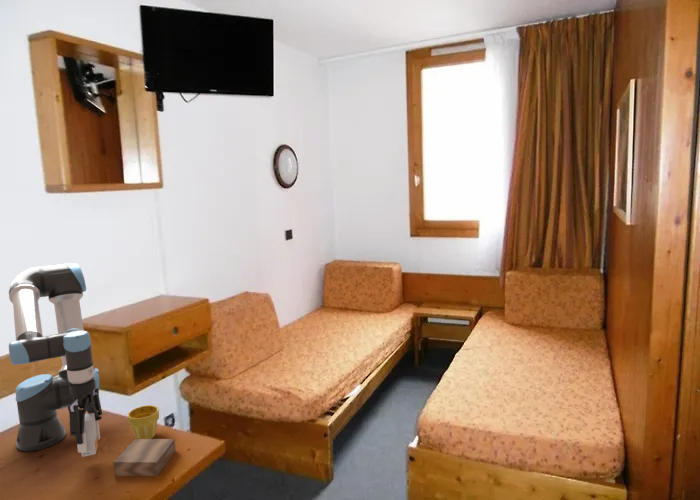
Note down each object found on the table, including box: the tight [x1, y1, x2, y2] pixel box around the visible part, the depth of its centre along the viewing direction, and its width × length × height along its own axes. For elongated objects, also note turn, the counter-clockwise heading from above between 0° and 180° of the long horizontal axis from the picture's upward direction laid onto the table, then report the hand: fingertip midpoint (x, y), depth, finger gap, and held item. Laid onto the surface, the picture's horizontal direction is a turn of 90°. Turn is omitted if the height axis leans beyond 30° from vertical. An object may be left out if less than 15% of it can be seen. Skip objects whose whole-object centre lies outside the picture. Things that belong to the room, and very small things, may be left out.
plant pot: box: [127, 404, 160, 439], centre depth 181 cm, size 10×10×10 cm
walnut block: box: [112, 438, 177, 477], centre depth 164 cm, size 14×14×5 cm
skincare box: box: [80, 412, 99, 458], centre depth 163 cm, size 6×4×12 cm
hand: (89, 445), depth 163 cm, fingers closed on skincare box, 7 cm apart
